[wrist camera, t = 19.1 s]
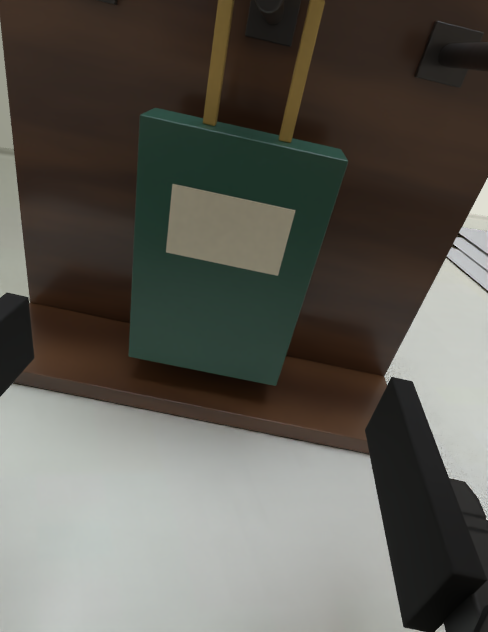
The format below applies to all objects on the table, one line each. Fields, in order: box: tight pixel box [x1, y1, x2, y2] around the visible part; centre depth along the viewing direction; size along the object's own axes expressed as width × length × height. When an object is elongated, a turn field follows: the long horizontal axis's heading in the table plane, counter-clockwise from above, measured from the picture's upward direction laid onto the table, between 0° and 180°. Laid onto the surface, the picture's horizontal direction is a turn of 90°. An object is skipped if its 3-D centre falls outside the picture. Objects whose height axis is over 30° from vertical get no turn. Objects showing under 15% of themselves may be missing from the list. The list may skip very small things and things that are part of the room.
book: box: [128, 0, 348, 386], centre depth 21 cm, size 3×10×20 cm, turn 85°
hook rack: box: [0, 0, 488, 454], centre depth 23 cm, size 10×28×26 cm, turn 85°
